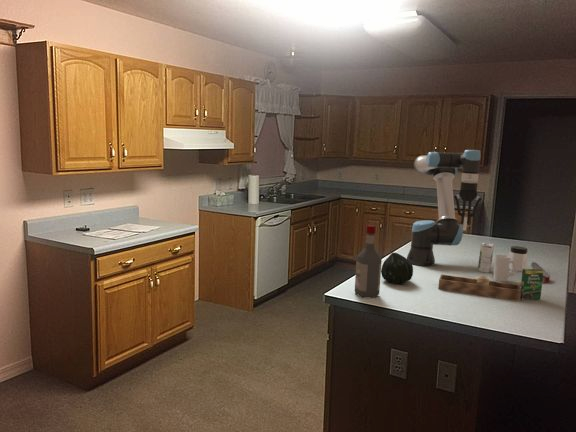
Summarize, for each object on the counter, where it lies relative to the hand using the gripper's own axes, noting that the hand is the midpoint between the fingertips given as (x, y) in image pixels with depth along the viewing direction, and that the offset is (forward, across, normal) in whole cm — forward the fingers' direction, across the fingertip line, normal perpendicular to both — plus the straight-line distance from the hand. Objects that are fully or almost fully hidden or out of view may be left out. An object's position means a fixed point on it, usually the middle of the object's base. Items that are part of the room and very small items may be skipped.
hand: (464, 229), depth 236 cm
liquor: (+24, -35, -51) cm, 66 cm away
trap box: (+24, +9, -22) cm, 33 cm away
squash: (+24, -27, -25) cm, 44 cm away
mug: (+24, +20, +5) cm, 32 cm away
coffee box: (+24, +30, -21) cm, 44 cm away
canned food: (+24, +36, +15) cm, 46 cm away
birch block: (+21, +11, -22) cm, 32 cm away
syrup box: (+24, +11, +20) cm, 33 cm away
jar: (+25, +27, +33) cm, 49 cm away
